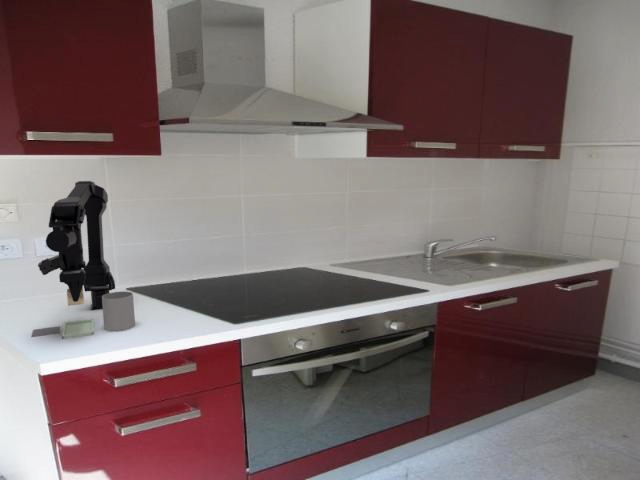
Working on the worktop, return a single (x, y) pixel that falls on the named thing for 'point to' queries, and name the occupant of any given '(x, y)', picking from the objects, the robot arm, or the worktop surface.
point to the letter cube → (70, 300)
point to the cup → (118, 311)
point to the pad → (45, 331)
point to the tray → (78, 328)
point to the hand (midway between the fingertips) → (75, 299)
